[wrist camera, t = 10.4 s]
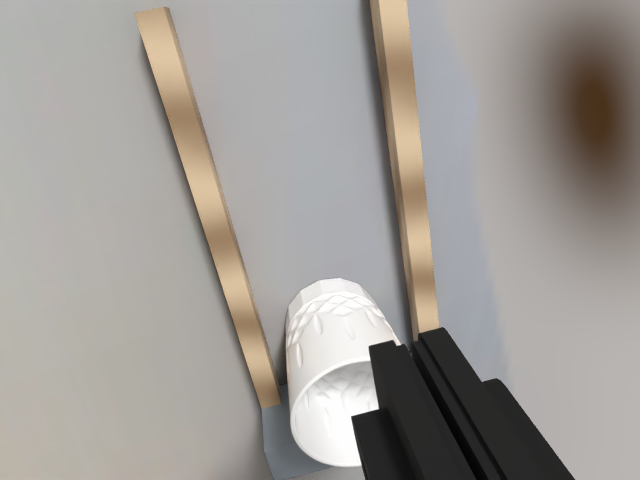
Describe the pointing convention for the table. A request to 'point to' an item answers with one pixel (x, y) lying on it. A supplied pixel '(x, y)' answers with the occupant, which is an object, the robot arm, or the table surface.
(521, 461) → the robot arm
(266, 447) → the end stop
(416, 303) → the guide channel
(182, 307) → the table surface
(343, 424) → the white cup
